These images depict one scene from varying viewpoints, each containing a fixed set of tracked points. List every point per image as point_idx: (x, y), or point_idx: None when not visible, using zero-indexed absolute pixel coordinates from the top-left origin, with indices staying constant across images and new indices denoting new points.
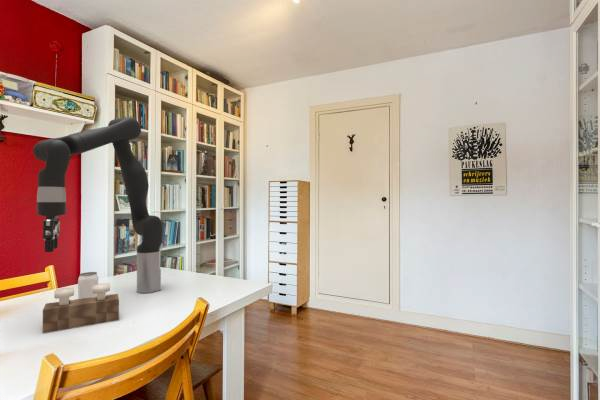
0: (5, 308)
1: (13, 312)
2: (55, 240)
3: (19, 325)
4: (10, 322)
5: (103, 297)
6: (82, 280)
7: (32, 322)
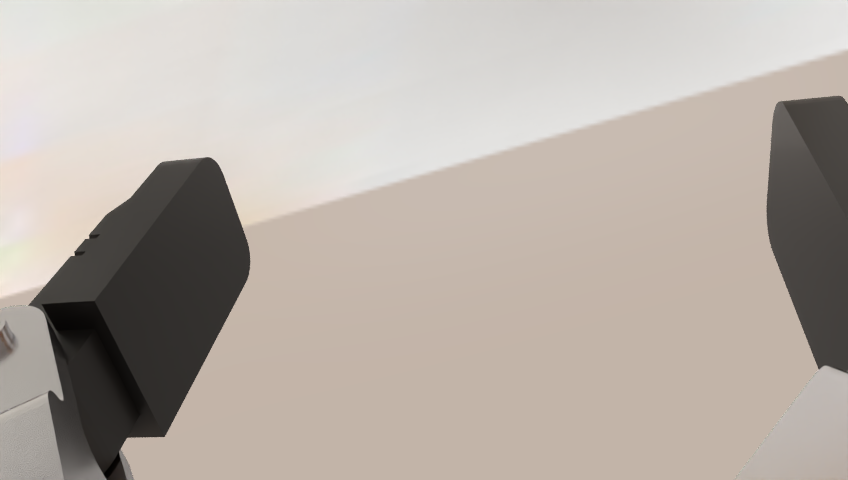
0: None
1: None
2: (147, 287)
3: (509, 80)
4: (420, 151)
5: None
6: None
7: (476, 18)
